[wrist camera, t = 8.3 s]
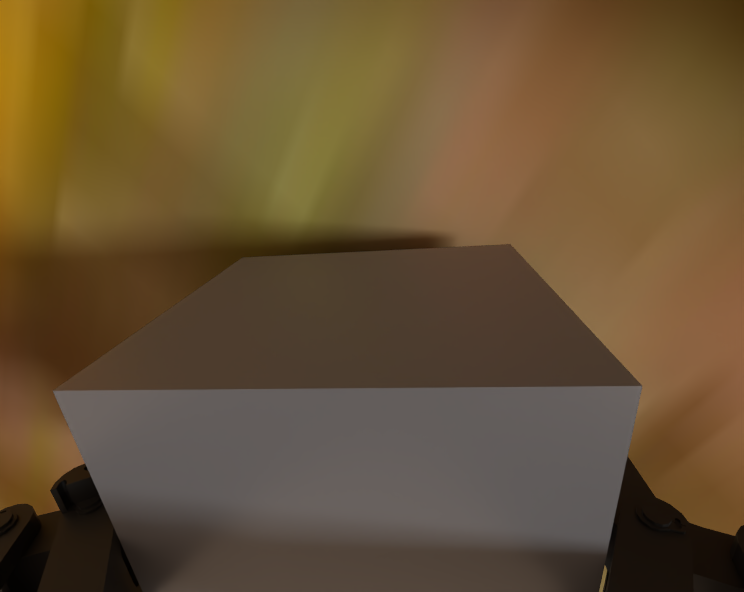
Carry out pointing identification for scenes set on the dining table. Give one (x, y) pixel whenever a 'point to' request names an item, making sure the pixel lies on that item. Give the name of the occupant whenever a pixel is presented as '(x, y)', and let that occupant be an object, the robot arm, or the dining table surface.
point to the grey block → (361, 429)
